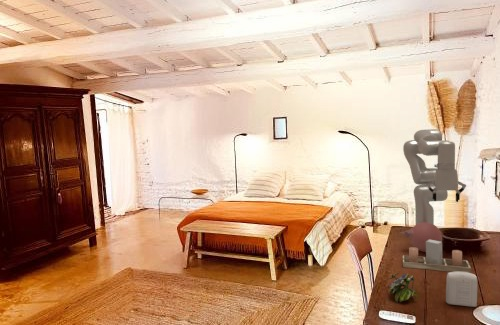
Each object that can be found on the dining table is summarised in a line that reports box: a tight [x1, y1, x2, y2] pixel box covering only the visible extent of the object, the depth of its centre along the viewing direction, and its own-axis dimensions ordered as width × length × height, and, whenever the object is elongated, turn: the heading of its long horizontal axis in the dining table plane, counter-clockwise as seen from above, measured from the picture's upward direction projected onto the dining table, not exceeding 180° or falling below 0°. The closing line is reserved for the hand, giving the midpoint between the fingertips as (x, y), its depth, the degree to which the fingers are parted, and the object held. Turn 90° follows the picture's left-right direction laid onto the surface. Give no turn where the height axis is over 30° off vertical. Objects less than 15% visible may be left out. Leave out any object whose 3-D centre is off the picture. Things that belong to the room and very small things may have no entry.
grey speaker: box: [445, 271, 478, 308], centre depth 141 cm, size 10×4×12 cm, turn 72°
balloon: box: [400, 222, 443, 253], centre depth 198 cm, size 15×20×15 cm
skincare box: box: [425, 239, 444, 265], centre depth 177 cm, size 6×4×12 cm
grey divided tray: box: [402, 246, 472, 274], centre depth 177 cm, size 10×28×8 cm, turn 68°
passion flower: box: [388, 272, 419, 303], centre depth 148 cm, size 11×11×12 cm
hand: (445, 201), depth 187 cm, fingers open, 9 cm apart
